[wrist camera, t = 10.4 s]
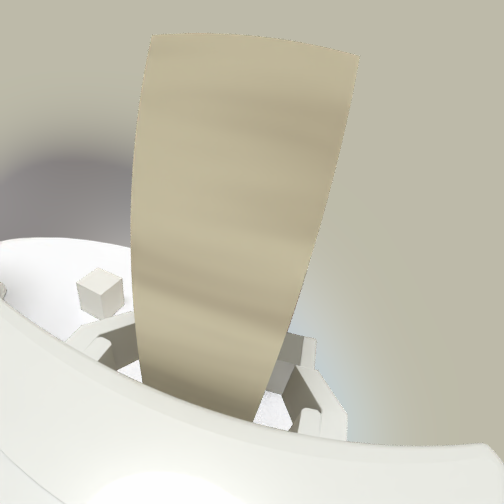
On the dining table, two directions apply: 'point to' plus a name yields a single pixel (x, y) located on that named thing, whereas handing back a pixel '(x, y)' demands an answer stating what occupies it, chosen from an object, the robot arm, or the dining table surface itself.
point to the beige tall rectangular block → (229, 205)
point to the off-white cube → (100, 293)
